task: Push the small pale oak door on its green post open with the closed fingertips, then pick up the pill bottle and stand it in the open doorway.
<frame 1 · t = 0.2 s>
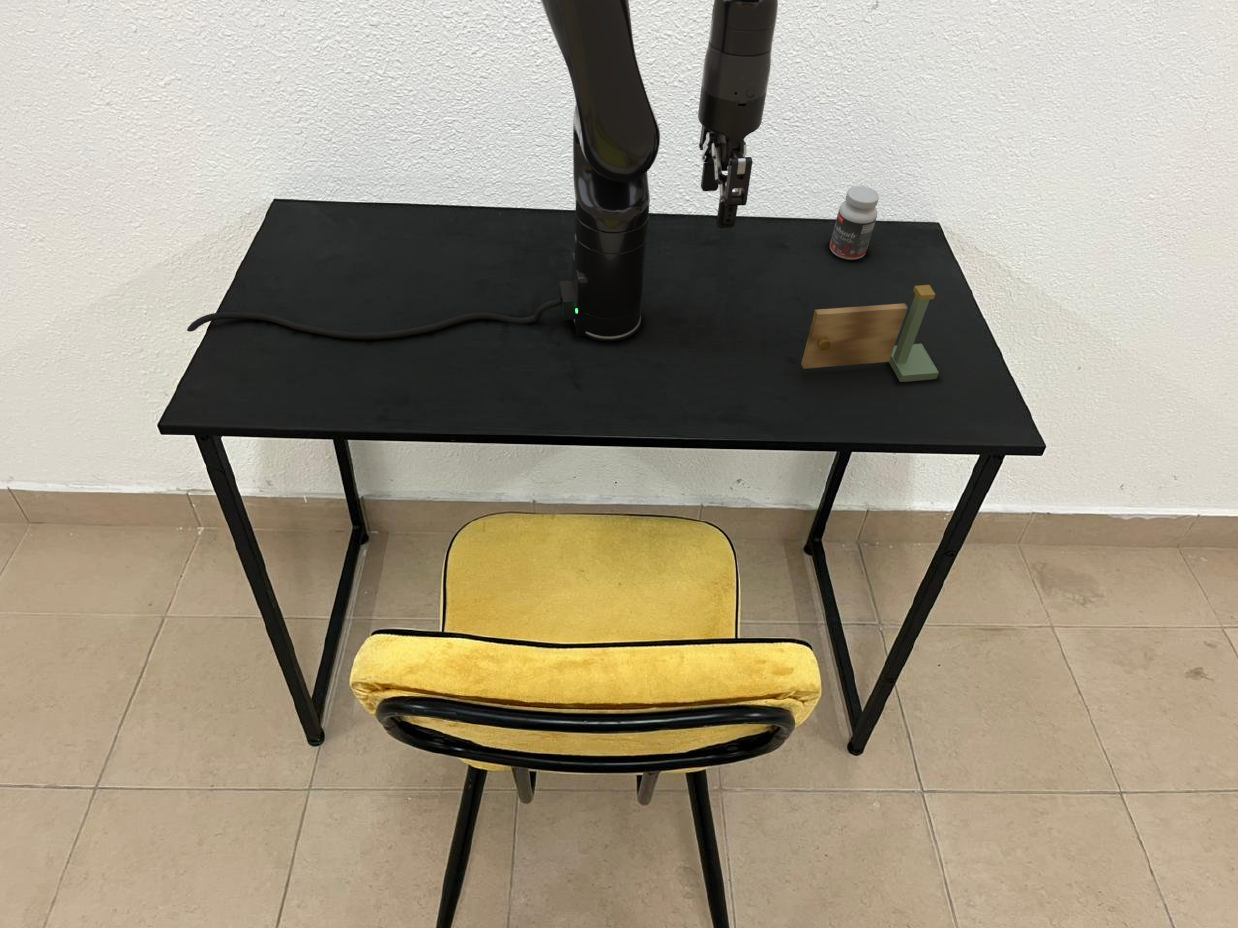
hand: (716, 208, 116), 17 cm above the table, tool pointing down, fingers open, 8 cm apart
door frame: (886, 367, 123), on the table
door: (854, 338, 118), point 6 cm above the table, hinge at 0.0°
pill bottle: (847, 251, 142), on the table
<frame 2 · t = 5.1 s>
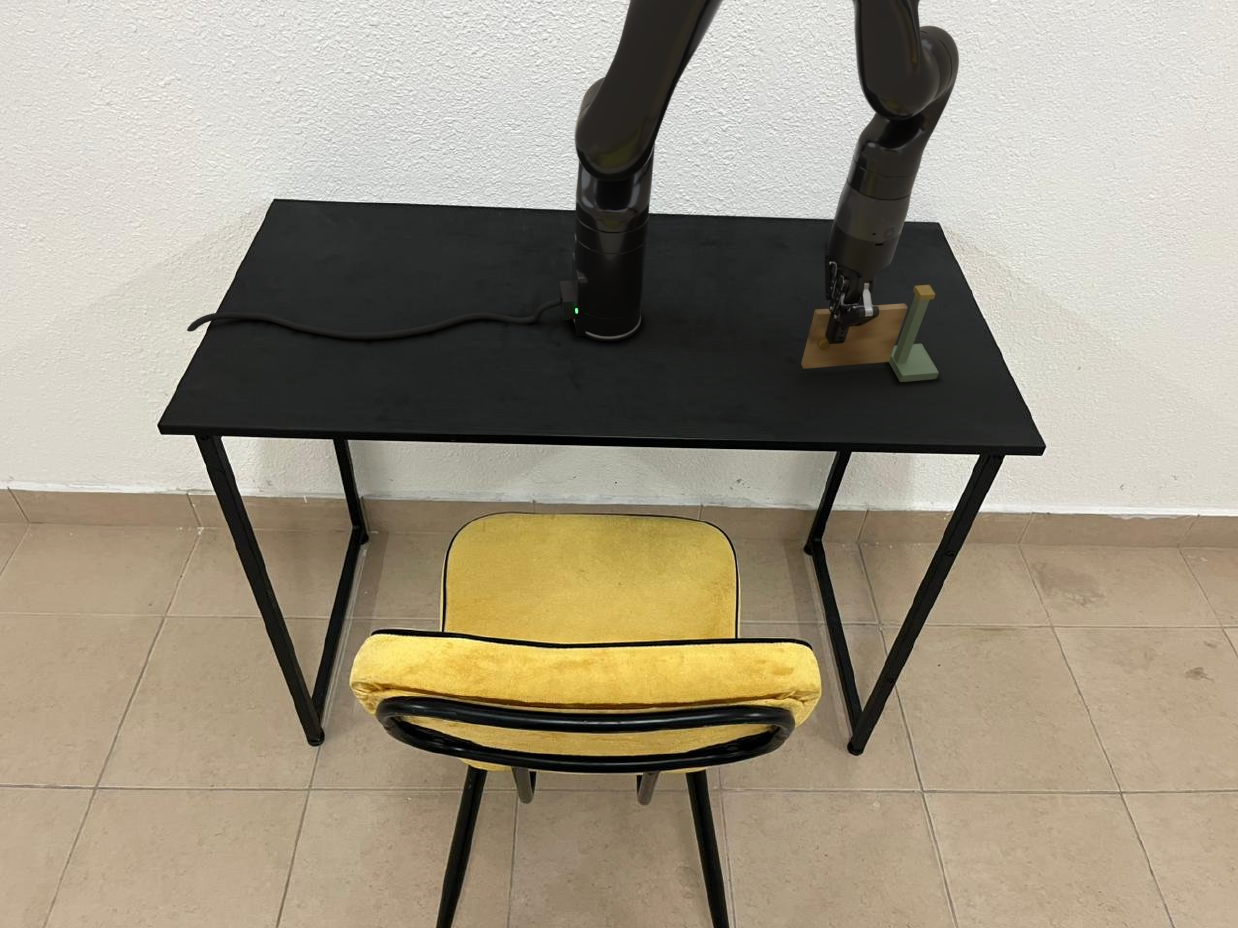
hand: (834, 340, 114), 8 cm above the table, tool pointing down, fingers closed
door: (854, 338, 118), point 6 cm above the table, hinge at 0.0°, touching gripper
everything else where it was.
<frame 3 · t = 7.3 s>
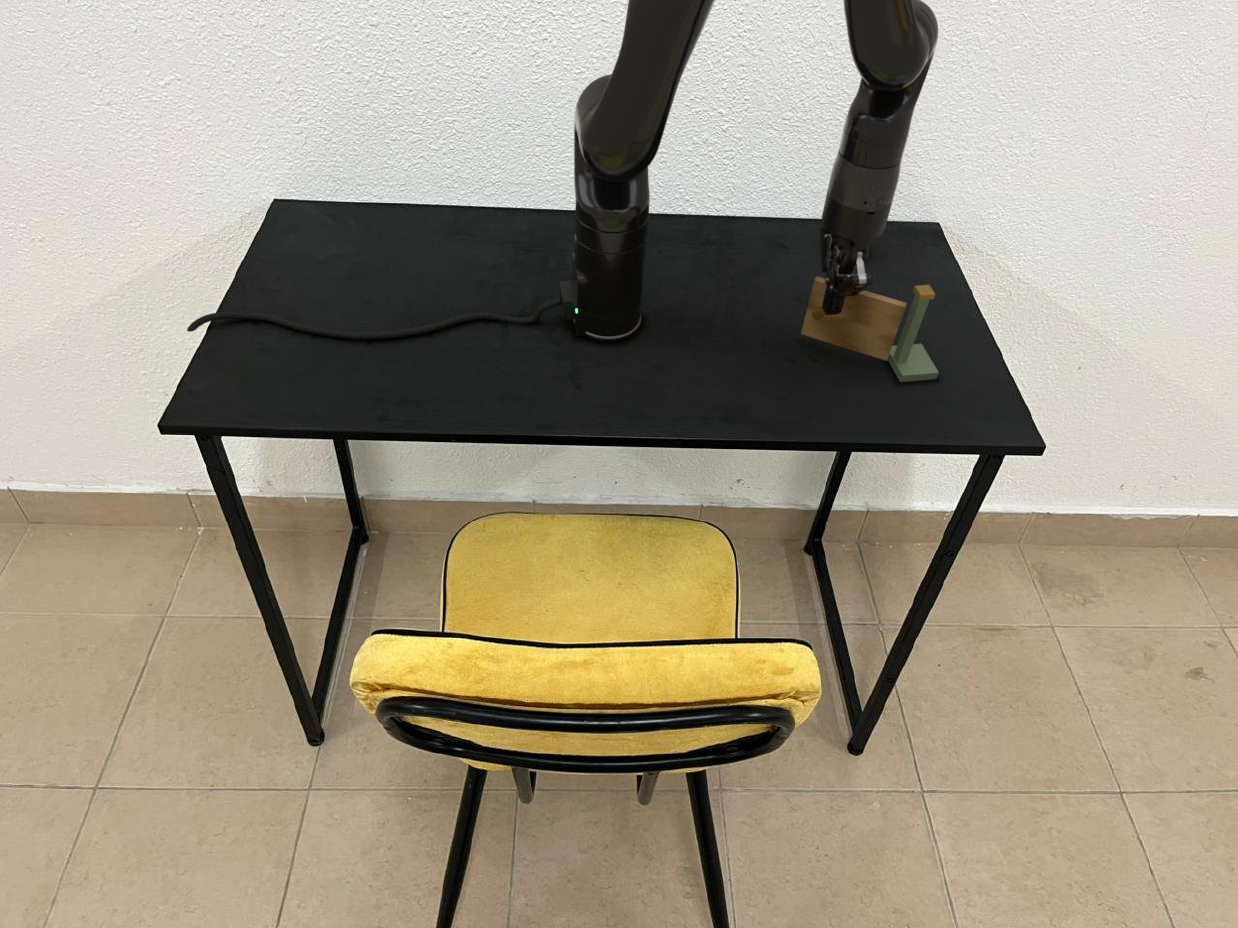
hand: (831, 311, 118), 8 cm above the table, tool pointing down, fingers closed
door: (851, 321, 120), point 6 cm above the table, hinge at 34.2°, touching gripper
everything else where it was.
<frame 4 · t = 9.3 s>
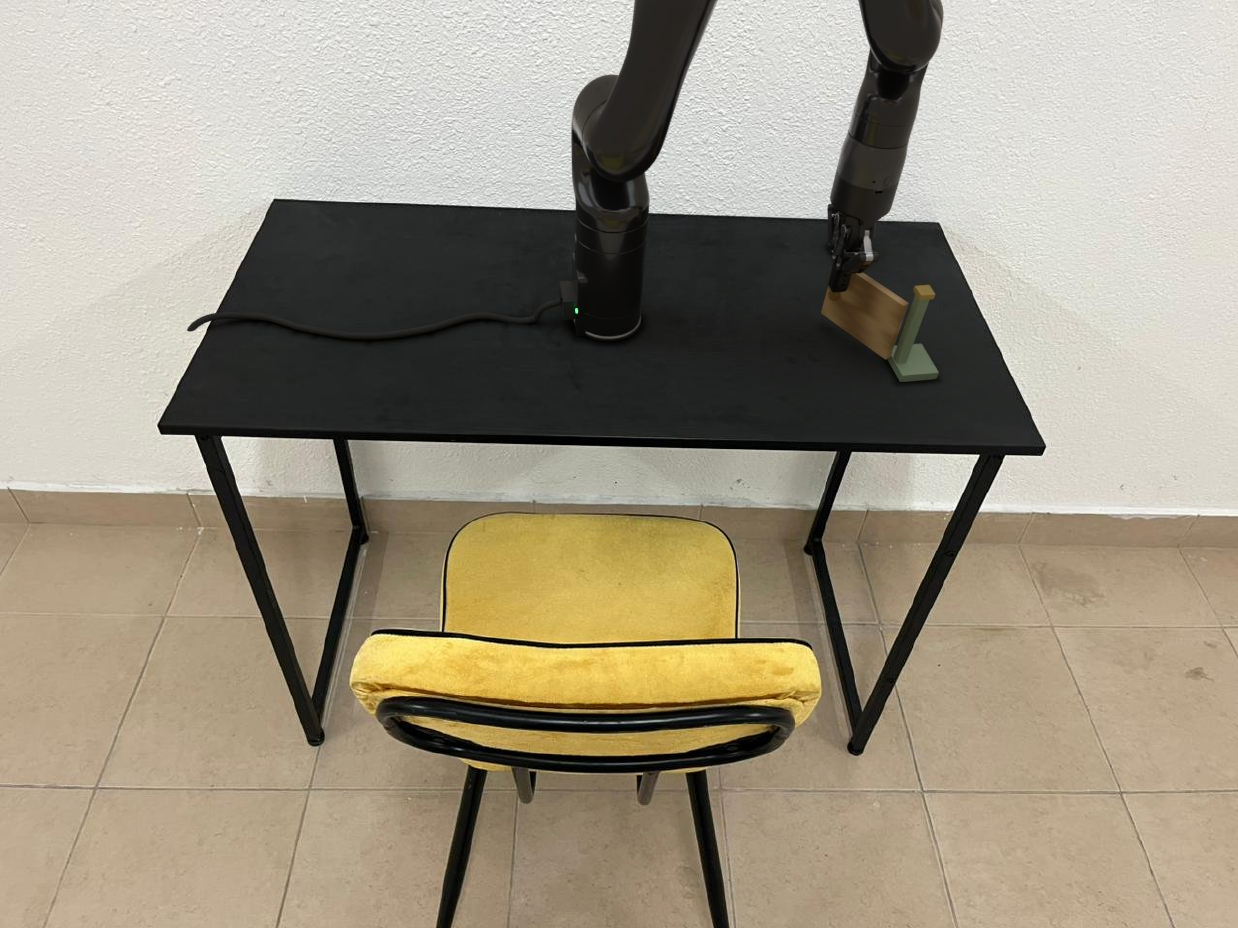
hand: (836, 289, 121), 8 cm above the table, tool pointing down, fingers closed
door: (860, 309, 122), point 6 cm above the table, hinge at 62.3°, touching gripper
everything else where it was.
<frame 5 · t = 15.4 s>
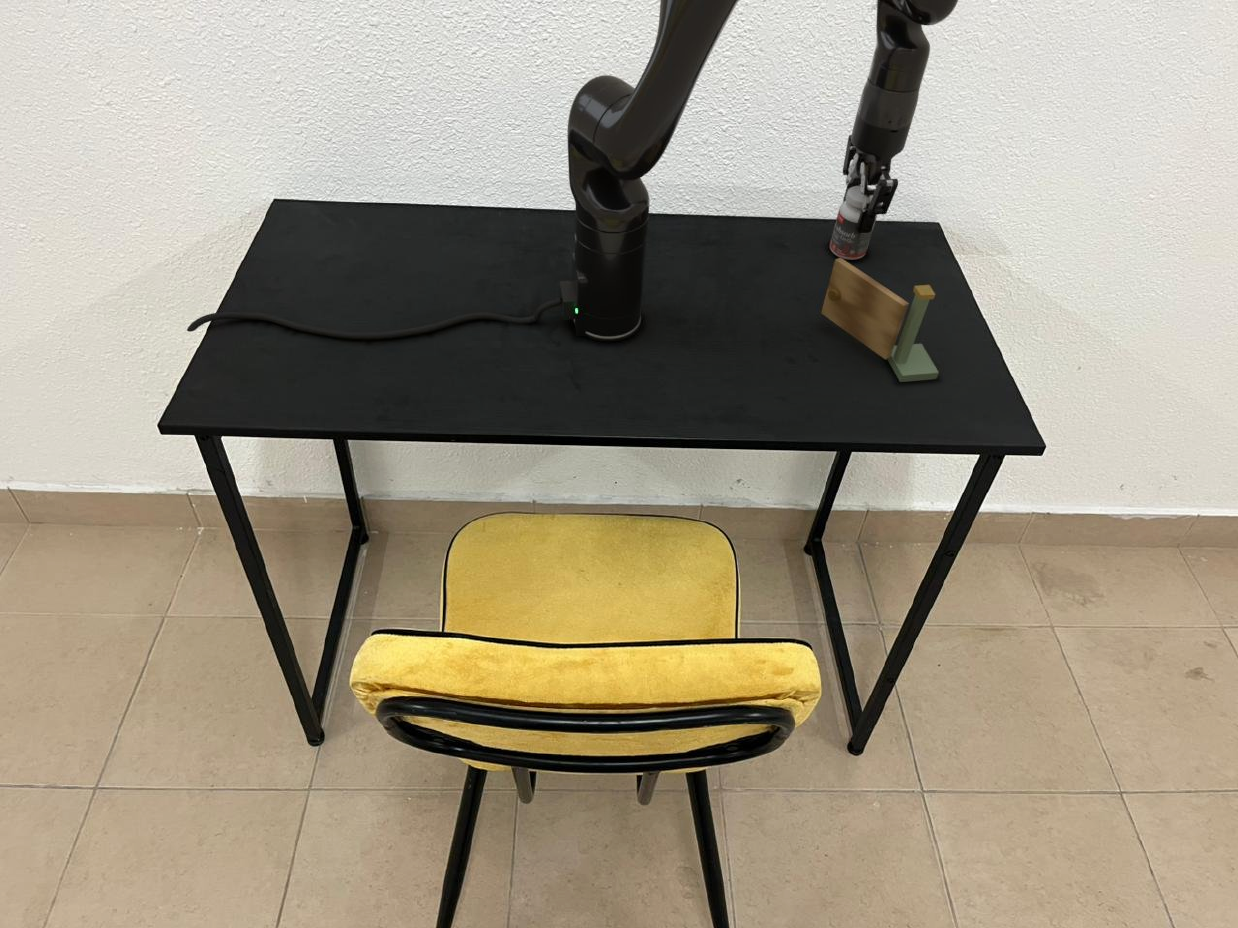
hand: (856, 219, 138), 6 cm above the table, tool pointing down, fingers closed on pill bottle, 5 cm apart
door: (860, 309, 122), point 6 cm above the table, hinge at 62.4°
pill bottle: (847, 251, 142), on the table, touching gripper
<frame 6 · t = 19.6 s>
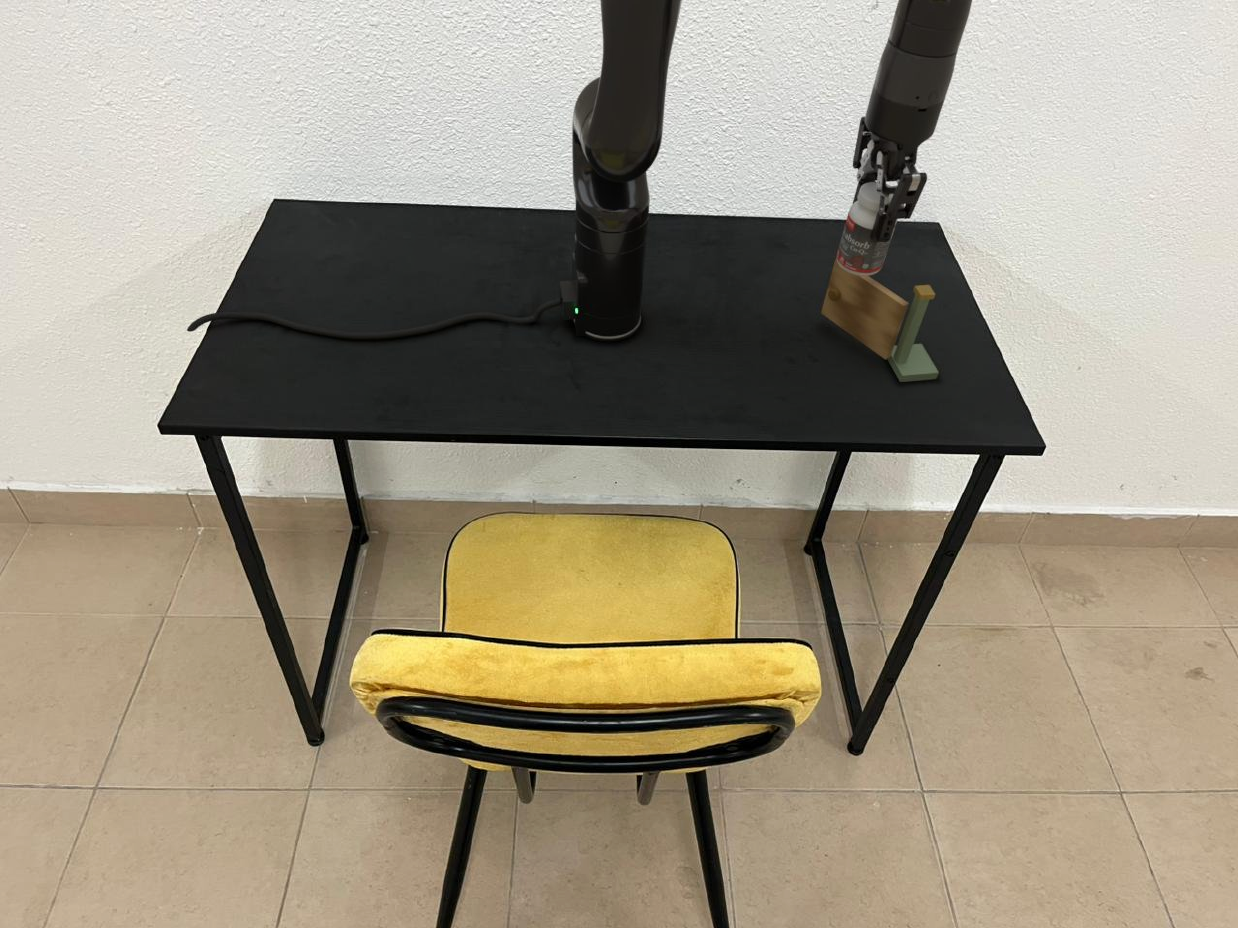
hand: (870, 225, 108), 21 cm above the table, tool pointing down, fingers closed on pill bottle, 5 cm apart
pill bottle: (858, 265, 112), point 15 cm above the table, touching gripper
everything else where it was.
when the fingers open (6 cm above the table, at t = 23.7 s): pill bottle stays where it is, on the table.
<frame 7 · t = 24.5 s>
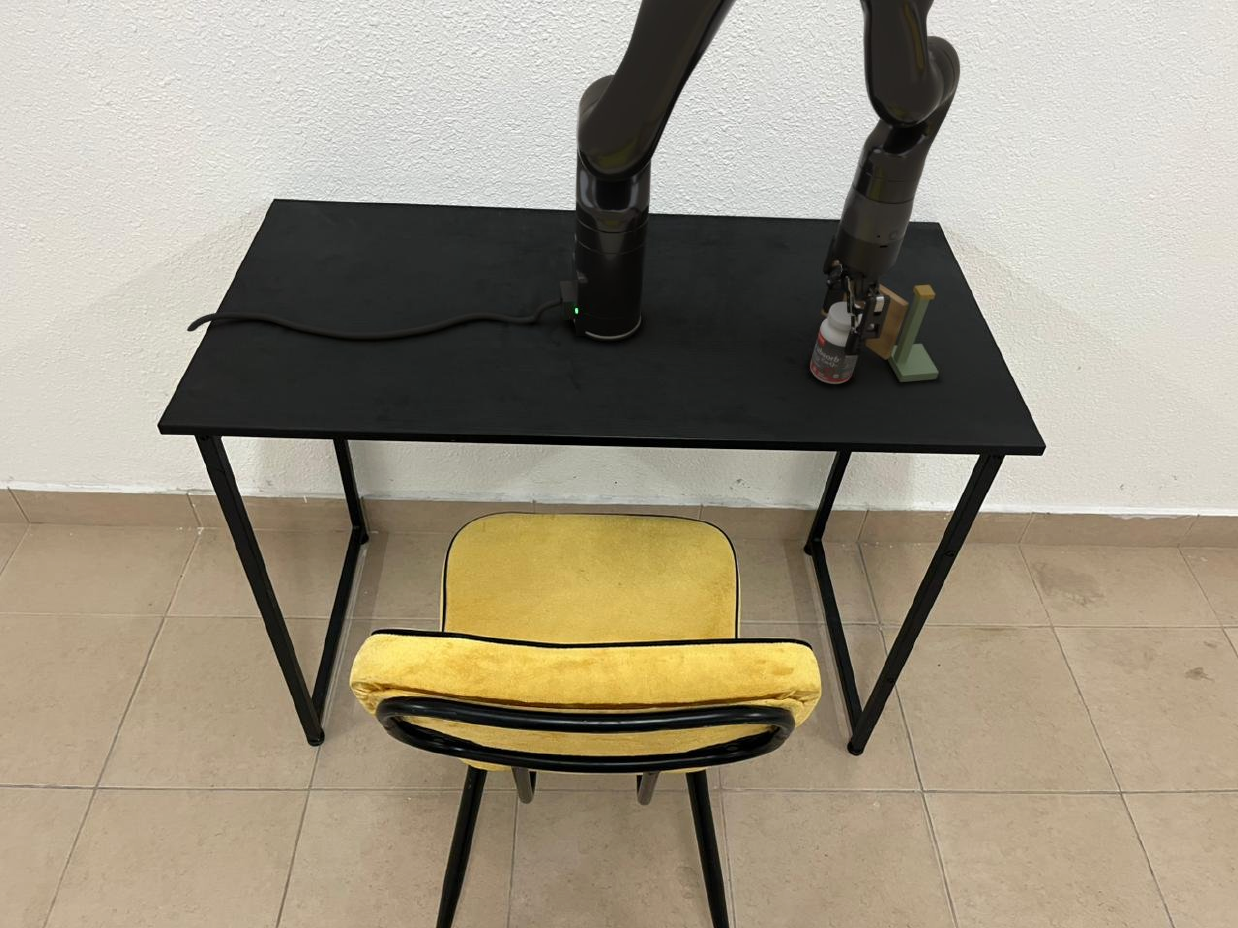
hand: (841, 332, 117), 7 cm above the table, tool pointing down, fingers open, 8 cm apart
pill bottle: (830, 372, 122), on the table
everything else where it was.
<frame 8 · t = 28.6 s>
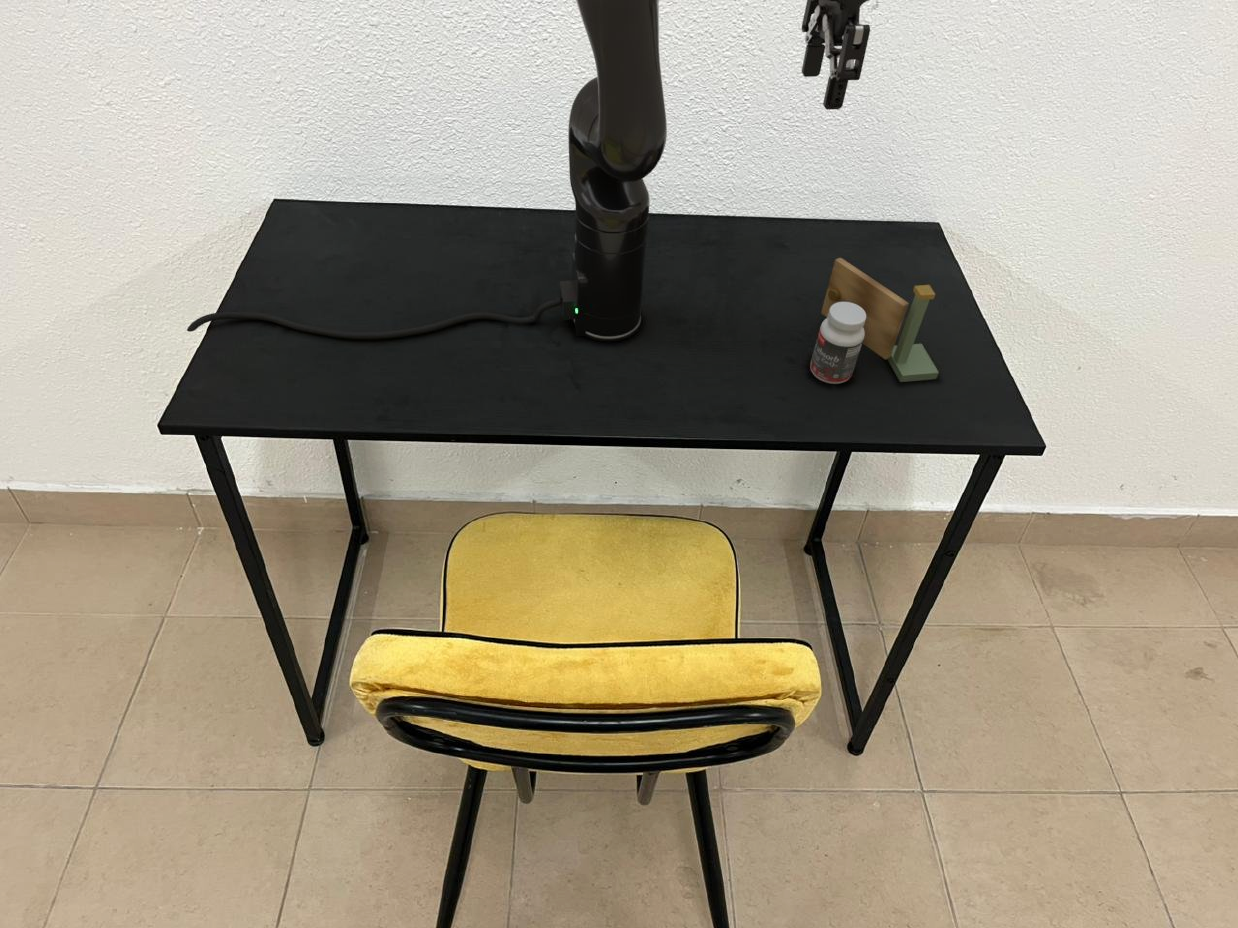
hand: (820, 91, 112), 30 cm above the table, tool pointing down, fingers open, 8 cm apart
nothing on the table moved.
at the end: door at +62° (first picture: +0°); pill bottle inside the target area on the table beside the door frame (0.3 cm from its centre), on the table; pill bottle tilted 0° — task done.
